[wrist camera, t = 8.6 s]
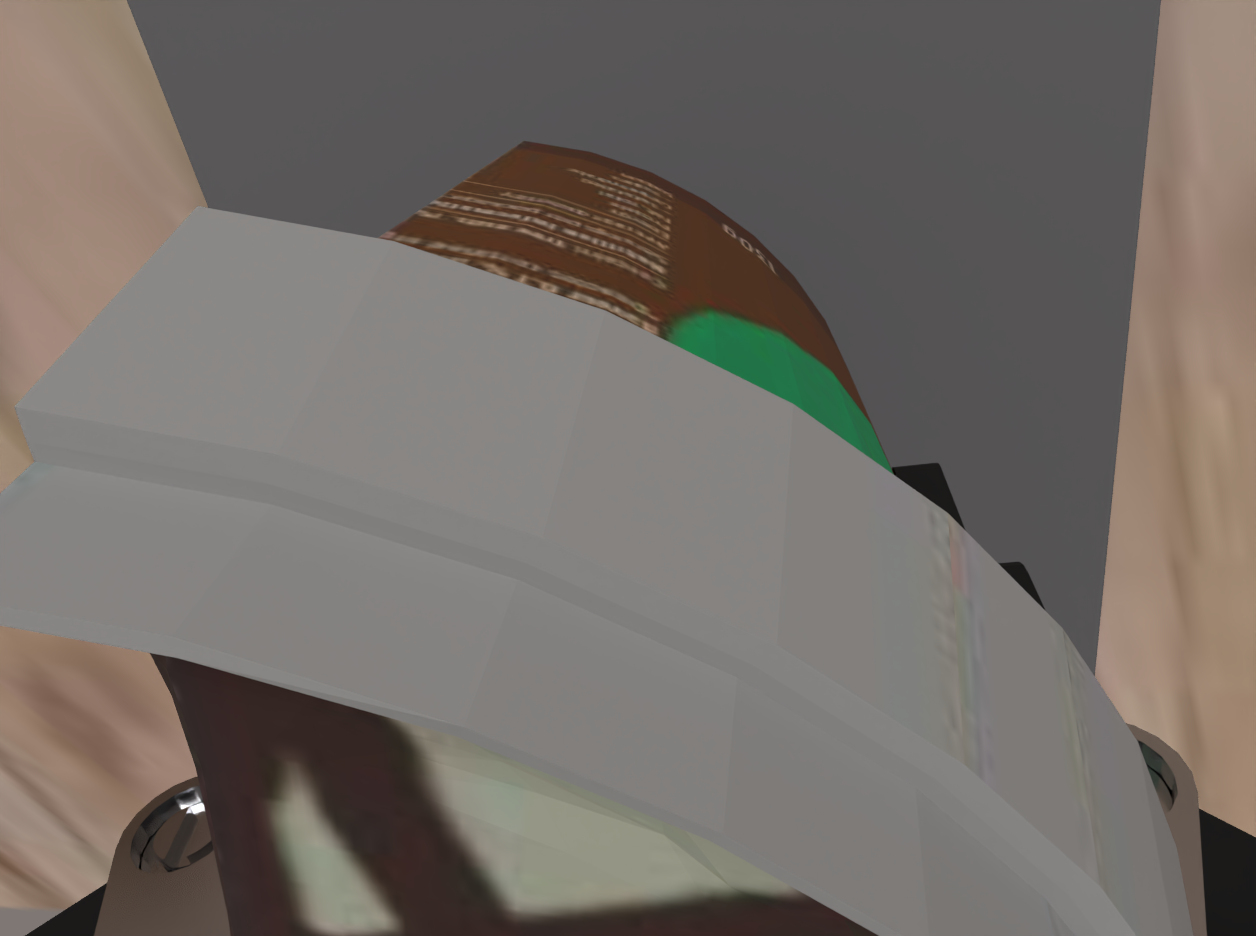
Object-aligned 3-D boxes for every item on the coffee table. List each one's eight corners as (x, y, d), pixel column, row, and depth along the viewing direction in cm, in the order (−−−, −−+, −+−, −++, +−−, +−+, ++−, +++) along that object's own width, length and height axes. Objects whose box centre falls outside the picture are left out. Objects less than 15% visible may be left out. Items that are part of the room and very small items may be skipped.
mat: (1165, -250, 12) (1185, -256, 11) (1080, 701, 20) (1089, 722, 19) (135, -38, 14) (113, -35, 14) (433, 740, 22) (426, 761, 22)
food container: (856, 796, 17) (976, 1689, 9) (514, 754, 17) (308, 1584, 9) (1069, 55, 11) (2345, 707, 2) (525, 5, 11) (-173, 429, 3)
